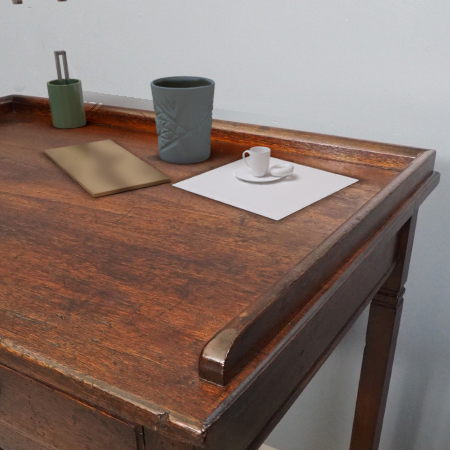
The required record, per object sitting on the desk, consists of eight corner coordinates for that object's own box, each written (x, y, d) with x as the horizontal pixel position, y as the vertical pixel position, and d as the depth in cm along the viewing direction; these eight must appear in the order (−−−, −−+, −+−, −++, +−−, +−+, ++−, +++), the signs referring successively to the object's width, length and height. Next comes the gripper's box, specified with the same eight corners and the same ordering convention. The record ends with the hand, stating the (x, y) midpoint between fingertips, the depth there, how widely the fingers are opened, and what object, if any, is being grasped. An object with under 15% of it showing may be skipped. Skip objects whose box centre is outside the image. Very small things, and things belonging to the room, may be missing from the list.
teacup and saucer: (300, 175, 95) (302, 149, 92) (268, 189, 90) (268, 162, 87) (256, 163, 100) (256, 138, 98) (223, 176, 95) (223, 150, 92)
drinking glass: (143, 159, 102) (137, 84, 96) (176, 143, 110) (173, 72, 104) (196, 168, 98) (193, 90, 92) (226, 151, 105) (226, 78, 99)
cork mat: (94, 197, 88) (93, 193, 87) (44, 153, 105) (43, 150, 105) (169, 182, 93) (169, 178, 93) (110, 142, 111) (109, 139, 110)
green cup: (59, 130, 118) (52, 86, 114) (49, 122, 123) (42, 80, 118) (91, 125, 121) (85, 82, 116) (80, 118, 125) (74, 77, 121)
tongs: (65, 122, 120) (55, 52, 114) (63, 121, 121) (53, 51, 115) (75, 121, 121) (65, 51, 115) (73, 120, 122) (63, 50, 115)
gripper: (78, -83, 116) (87, -2, 124) (-35, -84, 107) (-19, 4, 115) (89, -84, 112) (98, 0, 119) (-27, -84, 103) (-11, 7, 110)
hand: (40, 2), depth 117 cm, fingers open, 7 cm apart
